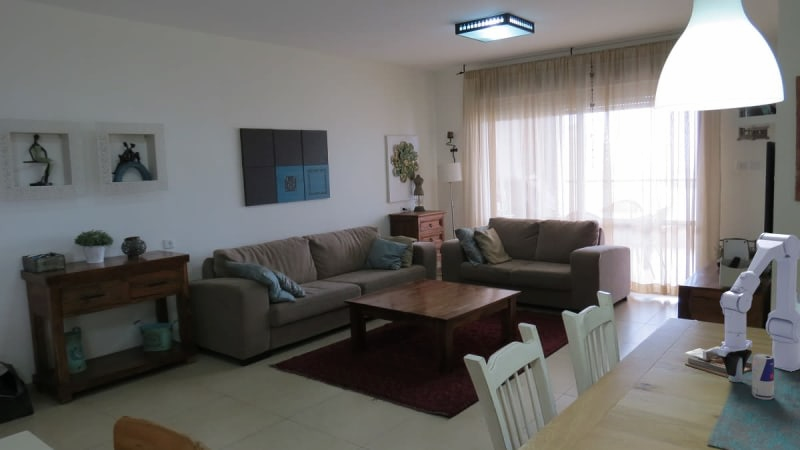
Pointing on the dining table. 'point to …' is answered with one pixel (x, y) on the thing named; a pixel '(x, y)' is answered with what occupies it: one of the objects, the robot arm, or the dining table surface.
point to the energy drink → (763, 376)
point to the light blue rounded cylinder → (737, 373)
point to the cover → (704, 353)
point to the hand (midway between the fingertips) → (735, 373)
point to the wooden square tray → (713, 365)
